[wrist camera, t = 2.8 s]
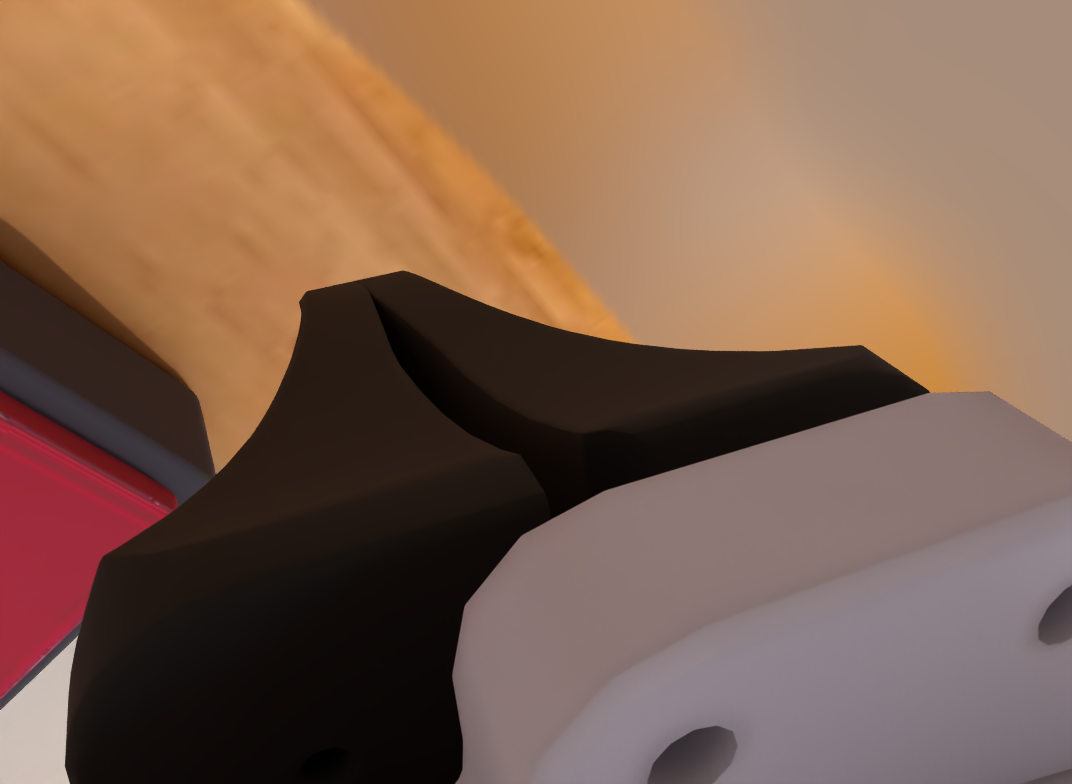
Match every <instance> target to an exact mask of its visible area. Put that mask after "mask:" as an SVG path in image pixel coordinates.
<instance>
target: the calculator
mask: <svg viewBox="0 0 1072 784" xmlns="http://www.w3.org/2000/svg"><path fill="white" fill-rule="evenodd" d="M215 475H216V474H215V469H214V464H213V460H212V455H211V450H210V446H209V441H208V437H207V432H206V428H205V423H204V418H203V414H202V410H201V406H200V403H199V400H198V398H197V396H196V395H195V394H194V393H193V392H192V391H191V390H190V389H189V388H187V387H186V386H185V385H183V384H182V383H180V382H179V381H177V380H176V379H174V378H173V377H172V376H170V375H169V374H167V373H166V372H164V371H163V370H161V369H160V368H158V367H157V366H155V365H154V364H152V363H151V362H149V361H148V360H146V359H145V358H143V357H142V356H140V355H139V354H138V353H136V352H135V351H133V350H132V349H130V348H129V347H127V346H126V345H124V344H123V343H121V342H120V341H118V340H117V339H115V338H114V337H112V336H111V335H109V334H108V333H106V332H105V331H104V330H102V329H101V328H99V327H98V326H96V325H95V324H93V323H92V322H90V321H89V320H87V319H86V318H84V317H83V316H81V315H80V314H78V313H77V312H75V311H74V310H72V309H71V308H69V307H68V306H67V305H65V304H64V303H62V302H61V301H59V300H58V299H56V298H55V297H53V296H52V295H50V294H49V293H47V292H46V291H44V290H43V289H41V288H40V287H38V286H37V285H35V284H34V283H33V282H31V281H30V280H28V279H27V278H25V277H24V276H22V275H21V274H19V273H18V272H16V271H15V270H13V269H12V268H10V267H9V266H7V265H6V264H4V263H3V262H1V261H0V710H1V709H2V708H3V707H4V706H5V705H6V704H7V703H8V702H9V701H10V700H11V699H13V698H14V697H15V696H16V695H17V694H18V693H19V692H20V691H21V690H22V689H23V688H24V687H25V686H26V685H27V684H28V683H29V682H30V681H31V680H32V679H33V678H34V677H35V676H36V675H38V674H39V673H40V672H41V671H42V670H43V669H44V668H45V667H46V666H47V665H48V664H49V663H50V662H51V661H52V660H53V659H54V658H55V657H56V656H57V655H58V654H59V653H60V652H61V651H62V650H64V649H65V648H66V647H67V646H68V645H69V644H70V643H71V642H72V641H73V640H74V639H75V638H76V637H77V636H78V635H79V632H80V629H81V624H82V620H83V616H84V611H85V608H86V605H87V601H88V598H89V594H90V591H91V587H92V584H93V581H94V577H95V574H96V571H97V568H98V565H99V562H100V560H101V559H102V557H103V556H104V555H106V554H107V553H109V552H111V551H112V550H114V549H116V548H118V547H119V546H121V545H122V544H124V543H125V542H127V541H129V540H130V539H132V538H133V537H135V536H136V535H138V534H139V533H141V532H142V531H144V530H145V529H147V528H149V527H150V526H152V525H153V524H155V523H156V522H158V521H159V520H161V519H162V518H164V517H165V516H167V515H168V514H170V513H171V512H172V511H174V510H175V509H176V508H178V507H179V506H180V505H182V504H183V503H184V502H185V501H186V500H188V499H189V498H190V497H191V496H193V495H194V494H195V493H196V492H197V491H199V490H200V489H201V488H202V487H203V486H205V485H206V484H207V483H208V482H209V481H210V480H211V479H212V478H213V477H214V476H215Z"/></svg>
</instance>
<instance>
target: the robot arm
mask: <svg viewBox="0 0 1072 784" xmlns="http://www.w3.org/2000/svg"><path fill="white" fill-rule="evenodd" d="M299 304H300V308H301V322H300V328H299V333H298V337H297V340H296V344H295V347H294V351H293V354H292V358H291V361H290V363H289V366H288V368H287V371H286V373H285V375H284V378H283V380H282V382H281V385H280V387H279V389H278V392H277V394H276V396H275V398H274V400H273V401H272V403H271V405H270V407H269V409H268V411H267V412H266V414H265V416H264V417H263V419H262V420H261V422H260V424H259V425H258V427H257V428H256V430H255V431H254V433H253V434H252V436H251V437H250V438H249V439H248V441H247V442H246V443H245V444H244V445H243V446H242V448H241V449H240V450H239V451H238V452H237V453H236V454H235V456H234V457H233V458H232V459H231V460H230V461H229V462H228V464H227V465H226V466H225V467H224V468H223V469H222V470H221V471H220V472H219V473H218V474H216V475H215V476H214V477H213V478H212V479H211V480H210V481H209V482H208V483H207V484H206V485H205V486H203V487H202V488H201V489H200V490H199V491H197V492H196V493H195V494H194V495H193V496H191V497H190V498H189V499H188V500H186V501H185V502H184V503H183V504H182V505H180V506H179V507H178V508H176V509H175V510H174V511H172V512H171V513H170V514H168V515H167V516H165V517H164V518H162V519H161V520H159V521H158V522H156V523H155V524H153V525H152V526H150V527H149V528H147V529H145V530H144V531H142V532H141V533H139V534H138V535H136V536H135V537H133V538H132V539H130V540H129V541H127V542H125V543H124V544H122V545H121V546H119V547H118V548H116V549H114V550H112V551H111V552H109V553H107V554H106V555H104V556H103V557H102V559H101V560H100V562H99V565H98V568H97V571H96V574H95V577H94V581H93V584H92V587H91V591H90V594H89V598H88V601H87V605H86V608H85V611H84V616H83V620H82V624H81V629H80V632H79V636H78V639H77V643H76V648H75V653H74V659H73V664H72V670H71V677H70V687H69V698H68V718H67V737H66V756H65V768H66V771H67V775H68V778H69V782H70V784H1072V442H1070V441H1069V440H1067V439H1065V438H1064V437H1062V436H1060V435H1059V434H1057V433H1056V432H1054V431H1052V430H1051V429H1049V428H1048V427H1046V426H1044V425H1043V424H1041V423H1040V422H1038V421H1036V420H1035V419H1033V418H1031V417H1030V416H1028V415H1027V414H1025V413H1023V412H1022V411H1020V410H1018V409H1017V408H1015V407H1014V406H1012V405H1011V404H1009V403H1007V402H1006V401H1004V400H1003V399H1001V398H999V397H997V396H996V395H994V394H993V393H991V392H955V393H954V392H951V393H930V392H929V390H927V389H926V388H924V387H923V386H921V385H920V384H918V383H917V382H915V381H914V380H912V379H911V378H910V377H908V376H907V375H905V374H904V373H902V372H901V371H899V370H898V369H896V368H895V367H893V366H892V365H890V364H889V363H887V362H886V361H884V360H883V359H882V358H880V357H879V356H877V355H876V354H874V353H873V352H871V351H870V350H868V349H867V348H865V347H864V346H861V345H858V346H844V347H829V348H813V349H799V350H783V351H706V350H688V349H687V350H686V349H674V348H666V347H656V346H648V345H639V344H631V343H625V342H618V341H612V340H607V339H602V338H597V337H593V336H588V335H583V334H579V333H574V332H570V331H566V330H562V329H558V328H554V327H551V326H547V325H544V324H541V323H538V322H535V321H532V320H529V319H525V318H522V317H519V316H516V315H513V314H510V313H508V312H505V311H502V310H500V309H497V308H494V307H492V306H489V305H487V304H484V303H482V302H479V301H477V300H474V299H472V298H469V297H467V296H465V295H462V294H460V293H458V292H455V291H453V290H451V289H448V288H446V287H444V286H442V285H439V284H437V283H435V282H433V281H430V280H428V279H425V278H423V277H421V276H418V275H416V274H413V273H410V272H407V271H399V272H394V273H389V274H385V275H380V276H376V277H371V278H366V279H362V280H357V281H353V282H348V283H343V284H339V285H334V286H329V287H325V288H320V289H316V290H311V291H307V292H306V293H305V294H304V296H303V297H302V299H301V300H300V301H299Z"/></svg>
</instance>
